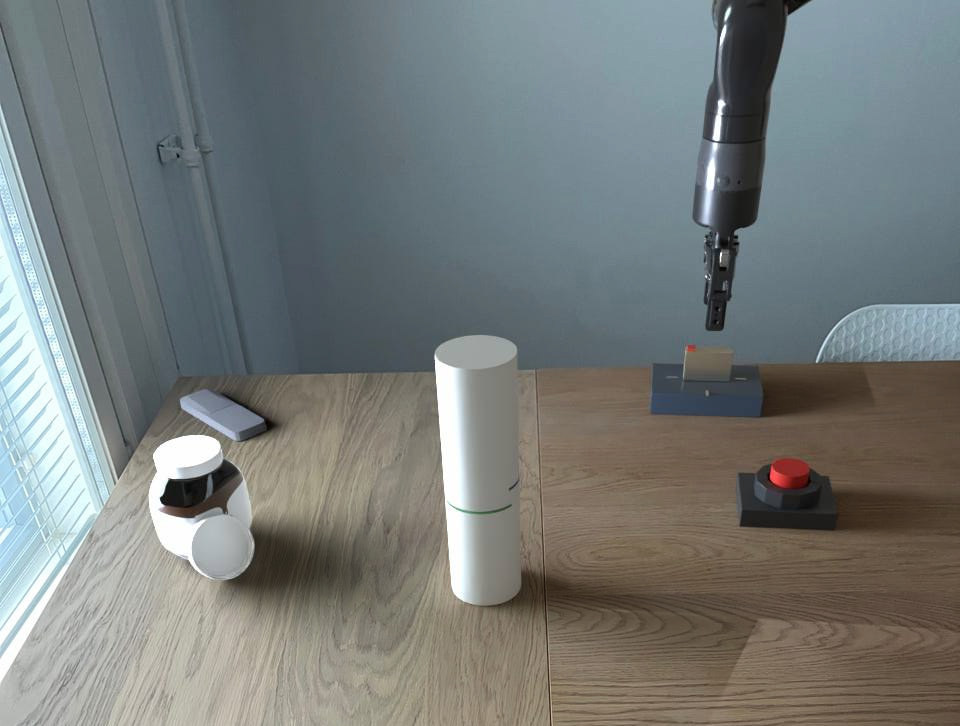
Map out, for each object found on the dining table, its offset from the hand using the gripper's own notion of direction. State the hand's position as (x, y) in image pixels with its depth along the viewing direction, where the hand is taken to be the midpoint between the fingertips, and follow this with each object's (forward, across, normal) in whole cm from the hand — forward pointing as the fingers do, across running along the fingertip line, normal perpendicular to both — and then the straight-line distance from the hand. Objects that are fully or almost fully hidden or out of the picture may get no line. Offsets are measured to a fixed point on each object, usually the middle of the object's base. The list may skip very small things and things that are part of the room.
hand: (712, 316), depth 123 cm
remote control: (+12, -10, +64) cm, 65 cm away
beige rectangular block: (+8, 0, 0) cm, 8 cm away
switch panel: (+11, 0, 0) cm, 11 cm away
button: (+8, -27, -8) cm, 29 cm away
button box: (+11, -26, -8) cm, 30 cm away
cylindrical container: (+12, -44, +23) cm, 51 cm away
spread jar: (+12, -40, +53) cm, 68 cm away
